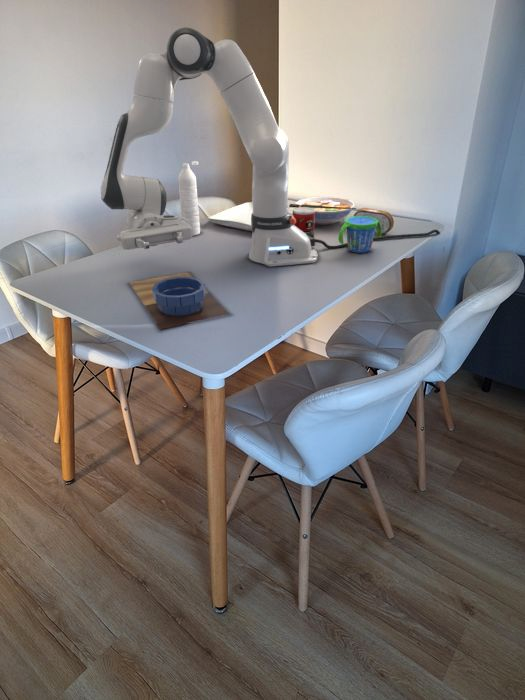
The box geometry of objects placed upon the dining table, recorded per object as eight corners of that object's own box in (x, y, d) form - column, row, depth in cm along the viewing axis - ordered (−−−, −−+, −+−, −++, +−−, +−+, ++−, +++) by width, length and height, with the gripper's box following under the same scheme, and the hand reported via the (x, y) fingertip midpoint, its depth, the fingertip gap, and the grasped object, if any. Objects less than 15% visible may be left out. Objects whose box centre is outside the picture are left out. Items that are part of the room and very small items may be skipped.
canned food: (299, 245, 177) (300, 213, 172) (288, 239, 183) (288, 208, 178) (318, 242, 180) (319, 210, 175) (306, 236, 186) (307, 205, 181)
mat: (144, 306, 136) (144, 305, 135) (208, 294, 142) (208, 292, 142) (160, 330, 124) (160, 328, 124) (229, 315, 131) (229, 313, 130)
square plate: (247, 210, 219) (247, 200, 217) (302, 219, 205) (302, 209, 203) (206, 225, 200) (205, 215, 198) (264, 237, 186) (264, 226, 184)
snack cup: (344, 257, 166) (346, 226, 161) (331, 247, 175) (332, 218, 169) (387, 252, 170) (390, 221, 165) (372, 242, 179) (375, 213, 173)
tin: (392, 234, 186) (395, 211, 182) (389, 236, 184) (392, 213, 180) (354, 228, 193) (356, 206, 189) (351, 230, 191) (352, 208, 187)
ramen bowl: (358, 216, 208) (359, 195, 204) (353, 233, 189) (355, 210, 184) (297, 213, 213) (297, 193, 209) (287, 229, 194) (287, 207, 190)
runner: (129, 283, 150) (129, 282, 150) (187, 272, 156) (187, 271, 156) (144, 306, 136) (144, 305, 135) (208, 294, 142) (208, 292, 142)
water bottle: (190, 237, 187) (184, 165, 175) (179, 233, 191) (172, 163, 179) (208, 231, 193) (203, 162, 180) (197, 228, 197) (191, 160, 184)
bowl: (209, 297, 139) (208, 277, 136) (201, 319, 128) (199, 297, 125) (162, 297, 140) (159, 276, 137) (149, 318, 129) (146, 296, 126)
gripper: (112, 225, 145) (123, 238, 134) (182, 214, 152) (197, 226, 141) (116, 246, 148) (127, 261, 137) (184, 235, 155) (199, 248, 144)
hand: (163, 243), depth 139 cm, fingers open, 8 cm apart
